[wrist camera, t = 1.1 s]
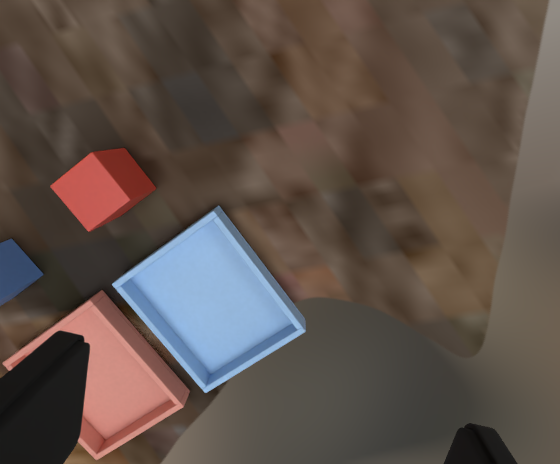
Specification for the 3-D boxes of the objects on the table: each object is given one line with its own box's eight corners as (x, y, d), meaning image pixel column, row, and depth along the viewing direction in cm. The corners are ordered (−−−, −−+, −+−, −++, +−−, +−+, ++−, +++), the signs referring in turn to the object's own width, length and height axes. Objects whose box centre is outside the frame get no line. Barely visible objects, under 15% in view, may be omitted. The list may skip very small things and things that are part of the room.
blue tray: (122, 274, 40) (111, 284, 37) (218, 205, 37) (213, 210, 35) (210, 378, 42) (205, 393, 40) (305, 319, 40) (306, 331, 37)
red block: (88, 176, 37) (49, 186, 31) (124, 147, 36) (91, 151, 30) (120, 216, 38) (88, 232, 32) (157, 188, 37) (130, 200, 31)
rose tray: (18, 349, 42) (1, 363, 40) (102, 289, 40) (89, 299, 38) (107, 442, 45) (96, 460, 43) (190, 391, 43) (183, 406, 40)
